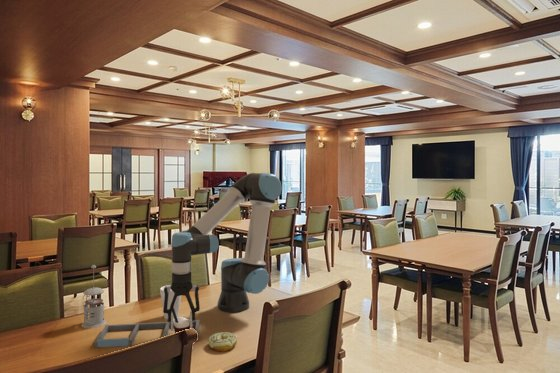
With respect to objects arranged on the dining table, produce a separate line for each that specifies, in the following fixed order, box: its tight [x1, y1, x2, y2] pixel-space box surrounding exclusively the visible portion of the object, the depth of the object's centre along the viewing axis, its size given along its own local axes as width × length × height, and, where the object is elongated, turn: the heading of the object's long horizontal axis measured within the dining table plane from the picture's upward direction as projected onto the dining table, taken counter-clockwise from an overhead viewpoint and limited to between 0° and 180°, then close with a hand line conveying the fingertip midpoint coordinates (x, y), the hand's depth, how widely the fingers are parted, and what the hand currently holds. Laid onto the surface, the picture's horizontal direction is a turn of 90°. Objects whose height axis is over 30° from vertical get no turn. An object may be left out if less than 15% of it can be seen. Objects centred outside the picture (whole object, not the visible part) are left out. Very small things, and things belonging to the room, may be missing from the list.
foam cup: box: [159, 284, 182, 320], centre depth 178 cm, size 10×9×13 cm
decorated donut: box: [208, 331, 238, 352], centre depth 149 cm, size 10×11×4 cm
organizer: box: [93, 319, 200, 349], centre depth 157 cm, size 37×17×2 cm, turn 99°
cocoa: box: [171, 307, 190, 334], centre depth 159 cm, size 10×6×12 cm, turn 120°
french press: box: [81, 264, 107, 329], centre depth 169 cm, size 10×12×25 cm
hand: (181, 329), depth 159 cm, fingers closed on cocoa, 7 cm apart
